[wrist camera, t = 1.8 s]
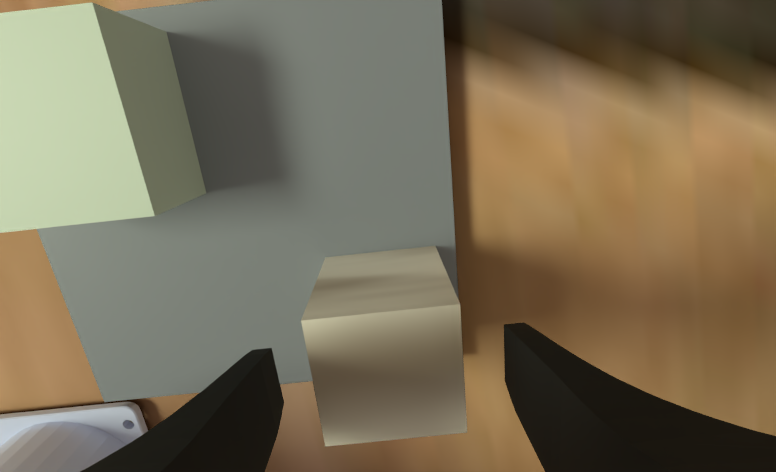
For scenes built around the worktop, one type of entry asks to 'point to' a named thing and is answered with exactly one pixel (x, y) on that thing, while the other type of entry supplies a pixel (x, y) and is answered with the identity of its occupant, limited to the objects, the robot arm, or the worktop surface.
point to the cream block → (386, 347)
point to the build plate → (267, 187)
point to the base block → (90, 120)
